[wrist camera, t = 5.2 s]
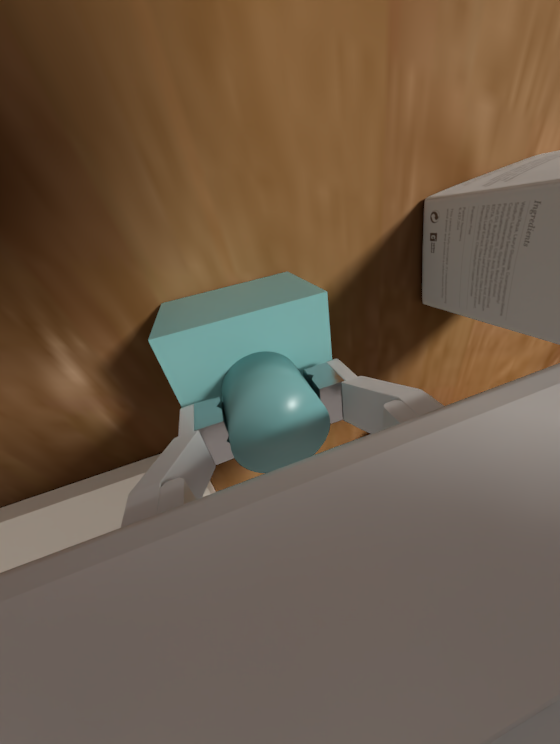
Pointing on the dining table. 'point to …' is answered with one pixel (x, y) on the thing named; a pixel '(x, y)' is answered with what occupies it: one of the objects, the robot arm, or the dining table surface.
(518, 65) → the dining table surface
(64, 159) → the dining table surface
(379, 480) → the robot arm
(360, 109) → the dining table surface
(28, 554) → the post stand
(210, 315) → the teal knobbed block
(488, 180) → the skincare box
